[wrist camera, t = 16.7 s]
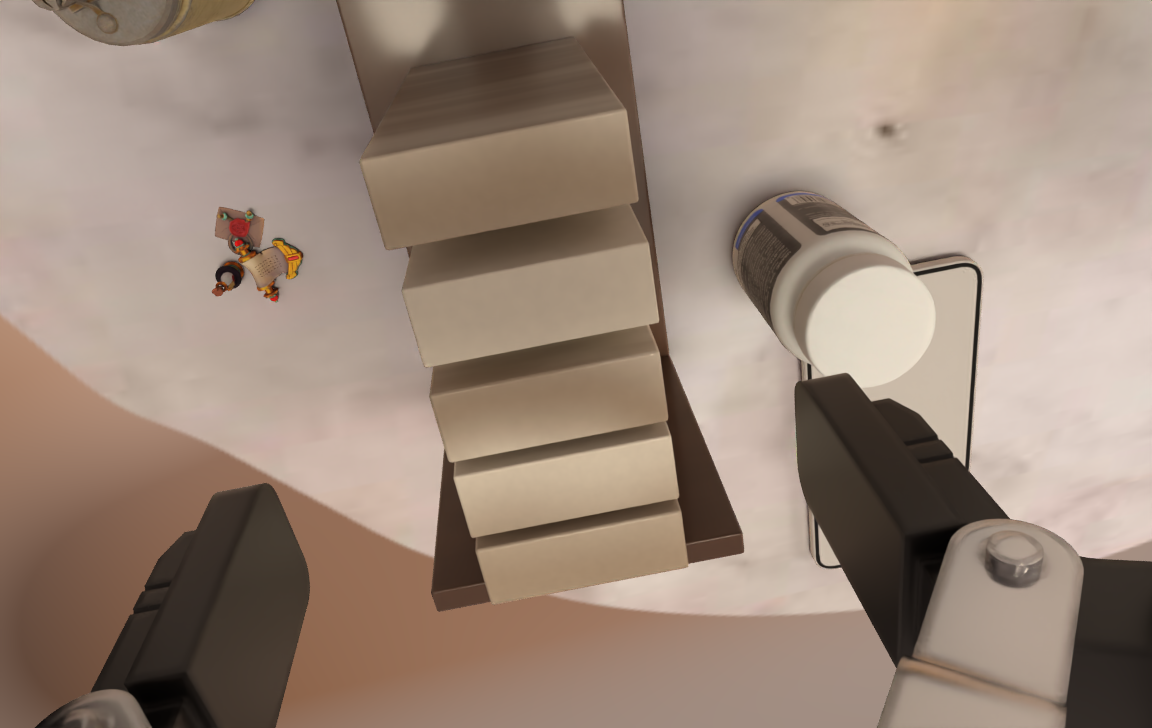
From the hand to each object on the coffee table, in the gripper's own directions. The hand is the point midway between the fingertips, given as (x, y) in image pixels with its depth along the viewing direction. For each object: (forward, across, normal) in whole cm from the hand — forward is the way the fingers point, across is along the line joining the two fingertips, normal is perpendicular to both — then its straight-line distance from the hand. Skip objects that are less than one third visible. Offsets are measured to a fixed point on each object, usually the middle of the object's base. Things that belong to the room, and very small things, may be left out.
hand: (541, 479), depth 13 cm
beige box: (+19, 0, 0) cm, 19 cm away
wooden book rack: (+20, 0, +1) cm, 20 cm away
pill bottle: (+20, -10, +6) cm, 23 cm away
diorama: (+20, +10, +2) cm, 22 cm away
